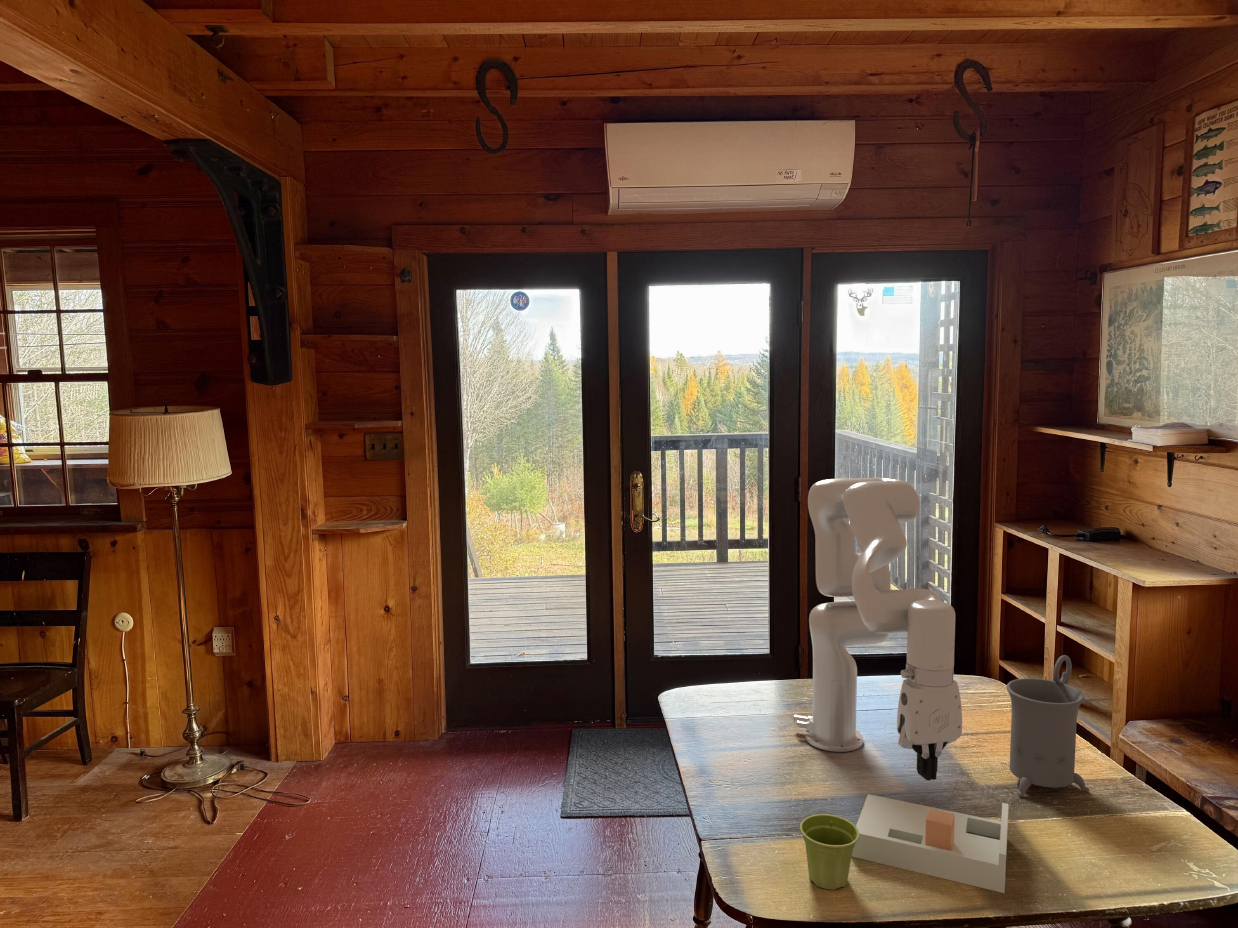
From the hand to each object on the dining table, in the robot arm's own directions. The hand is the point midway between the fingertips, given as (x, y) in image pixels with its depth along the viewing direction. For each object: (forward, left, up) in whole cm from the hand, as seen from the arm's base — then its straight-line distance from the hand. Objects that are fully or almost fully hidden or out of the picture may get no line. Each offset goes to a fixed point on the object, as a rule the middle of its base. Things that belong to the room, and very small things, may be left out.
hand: (926, 776), depth 143 cm
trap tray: (+1, +1, -13) cm, 13 cm away
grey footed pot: (+19, +34, -13) cm, 41 cm away
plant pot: (-13, -16, -13) cm, 25 cm away
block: (+3, -3, -10) cm, 11 cm away
